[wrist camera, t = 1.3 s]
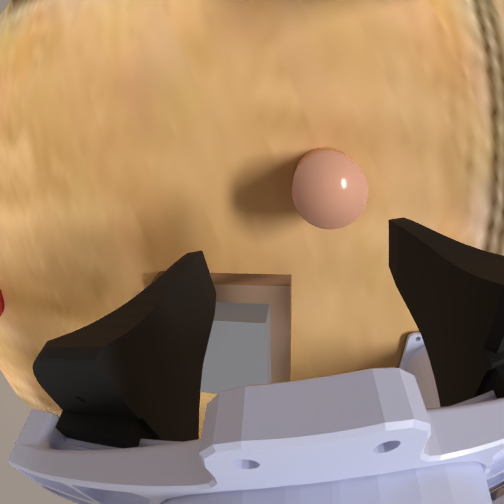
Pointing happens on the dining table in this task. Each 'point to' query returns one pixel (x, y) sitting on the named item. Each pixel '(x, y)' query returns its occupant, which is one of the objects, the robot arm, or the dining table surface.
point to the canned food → (1, 303)
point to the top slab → (237, 347)
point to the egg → (329, 189)
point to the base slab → (263, 292)
